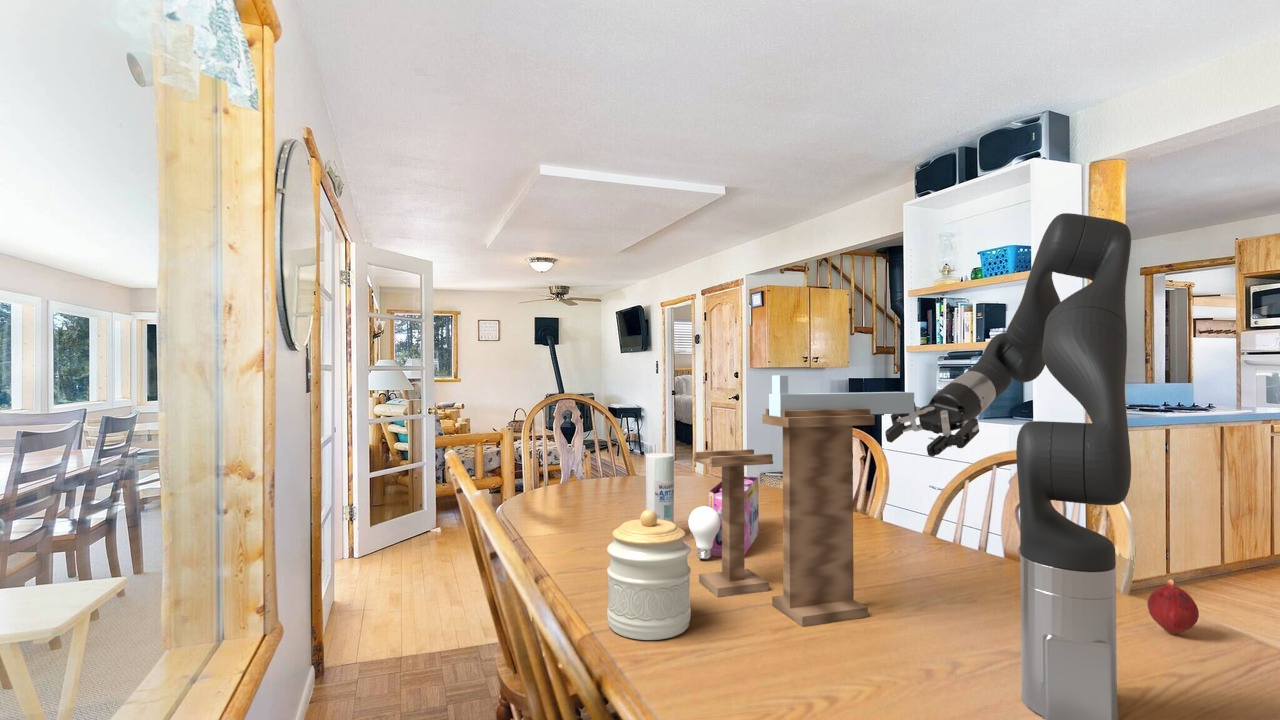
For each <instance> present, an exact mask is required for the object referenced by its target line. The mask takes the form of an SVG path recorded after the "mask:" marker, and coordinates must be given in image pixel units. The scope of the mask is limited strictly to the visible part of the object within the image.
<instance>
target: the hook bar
mask: <svg viewBox="0 0 1280 720" xmlns="http://www.w3.org/2000/svg"><path fill="white" fill-rule="evenodd" d="M914 402H915V392H909V391H908V392H907V391H906V392H905V391H879V392H878V391H876V392H875V391H873V392H872V391H871V392H869V391H867V392H865V391H864V392H813V393H811V392H810V393H809V392H808V393H805V392H804V393H789V375H784V374H783V375H778V374H777V375H771V393H769V394H768V409H769V415H770V416H777V417H782V411H792V410H832V409H870V415H892V414H902V413H914Z"/></svg>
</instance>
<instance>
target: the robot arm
mask: <svg viewBox="0 0 1280 720" xmlns="http://www.w3.org/2000/svg"><path fill="white" fill-rule="evenodd" d="M1131 246H1132V234H1131V230H1130V228H1129V226H1128V225H1127V224H1126V223H1124V222H1121V221H1118V220H1116V219H1111V218H1110V219H1109V218H1106V217H1105V218H1104V217H1098V216H1090V215H1086V214H1085V215H1084V214H1078V213H1068V212H1067V213H1064V212H1063V213H1059V214H1058V215H1056V216H1055V217H1054V218H1053V219H1052V220H1051V222H1050V223H1049V225H1048V226H1047V228H1046V230H1045V232H1044V234H1043V236H1042V238H1041V241H1040V243H1039V246H1038V249H1037V252H1036V254H1035V258H1034V260H1033V263H1032V267H1031V268H1030V272H1029V275H1028V278H1027V281H1026V284H1025V288H1024V292H1023V295H1022V299H1020V303H1019V305H1018V308H1017V309H1016V311H1015V313H1014V314H1013V317H1012V319H1011V321H1010V322H1009V324H1008V326H1007V329H1006V332H1000V333H997V334H996V335H995V336H993V337H992V338H991V340H989V343H987V345H986V347H985V349H984V351H983V353H982V354H981V357H980V358H979V360H978V361H977V362H975V364H974V365H972V366H971V367H970V368H969V369H967V370H966V371H965V372H963V373H962V374H960V375H959V376H957V377H955V378H954V379H952V380H951V381H950V382H949V383H948V384H947V385H945V386H944V387H942V388H941V389H940V390H939V391H937V392H936V393H935V394H934V395H933V396H932V398H931V400H930V401H929V403H928V404H926V405H925V406H922V407H920V406H917V405H916V402H915V401H914V413H902V414H890V420H891V424H892V425H891V426H890V427H888V429H886V430H885V438H886V442H888V443H891V444H892V443H893V442H895V441H896V440H897V439H899V437H901V436H902V435H903V434H904V433H905V432H910V431H913V432H919V431H923V430H924V431H928V432H931V433H933V434H936V435H938V436H937V437H936V438H934V439H933V440H932V441H931V442H930V443H929V444H927V445H926V452H927V456H929V457H932V458H933V457H935V456H937V455H940V454H941V453H942V452H944V450H946V449H947V448H952V447H953V446H954V447H956V448H958V449H963V448H964V447H966V446H967V445H968V444H969V443H970V442H971V441H972V440H973V439H974V438H975V437H976V436H977V435H978V434H979V433H980V426H979V421H978V418H977V417H978V416H979V415H980V414H982V412H984V411H985V410H986V409H988V407H989V406H990V405H991V404H992V402H994V401H995V399H996V398H999V396H1001V394H1003V393H1004V392H1006V390H1007V389H1008V388H1009V386H1010V385H1011V382H1012V380H1013V381H1016V382H1018V383H1029V382H1032V381H1034V380H1036V379H1037V378H1038V377H1039V376H1040V375H1041V374H1042V372H1043V370H1044V369H1045V366H1046V368H1047V369H1048V371H1049V373H1050V375H1052V376H1053V378H1055V380H1056V381H1057V382H1058V383H1059V385H1061V386H1062V387H1063V388H1064V389H1065V390H1066V391H1067V392H1068V393H1069V394H1070V395H1071V396H1072V397H1073V398H1075V400H1077V401H1078V403H1080V405H1081V407H1083V409H1084V411H1085V412H1086V414H1087V415H1088V418H1089V419H1090V421H1091V422H1087V423H1086V422H1070V421H1069V422H1067V421H1066V422H1064V421H1047V420H1043V421H1041V420H1035V421H1032V420H1031V421H1028V422H1025V423H1024V424H1023V425H1022V426H1021V427H1020V429H1019V431H1018V433H1017V439H1016V449H1015V450H1016V452H1015V453H1016V454H1015V455H1016V470H1017V471H1016V472H1017V473H1016V474H1017V484H1018V496H1019V497H1018V499H1019V531H1020V534H1019V535H1020V536H1019V537H1020V538H1019V539H1020V543H1019V545H1020V546H1019V548H1020V550H1019V551H1020V552H1019V553H1020V554H1019V556H1020V557H1019V558H1020V570H1019V571H1020V583H1019V584H1020V657H1021V658H1020V660H1021V661H1020V662H1021V663H1020V665H1021V699H1022V701H1023V703H1024V704H1025V705H1026V707H1027V708H1028V709H1030V710H1032V711H1033V712H1035V713H1037V714H1038V715H1039V716H1041V717H1042V718H1043V719H1044V720H1118V676H1117V675H1118V673H1117V672H1118V670H1117V669H1118V668H1117V667H1118V664H1117V663H1118V662H1117V661H1118V660H1117V659H1118V657H1117V581H1116V580H1117V577H1116V576H1117V574H1116V573H1117V572H1116V571H1117V570H1116V569H1117V567H1116V564H1117V563H1116V562H1117V561H1116V557H1117V553H1116V548H1115V544H1114V542H1112V541H1111V540H1110V539H1109V538H1108V537H1106V536H1104V535H1103V534H1101V533H1098V532H1096V531H1094V530H1092V529H1090V528H1087V527H1084V526H1082V525H1080V524H1077V523H1076V522H1074V521H1072V520H1070V519H1069V518H1067V517H1066V516H1064V515H1063V514H1062V513H1060V512H1059V511H1058V510H1057V509H1056V508H1055V507H1054V506H1053V504H1052V501H1057V502H1065V503H1074V504H1075V503H1076V504H1084V505H1086V504H1087V505H1096V506H1116V505H1118V504H1121V503H1122V502H1124V501H1125V499H1126V498H1127V496H1128V493H1129V491H1130V488H1131V480H1132V458H1131V445H1130V436H1129V427H1128V415H1127V406H1126V405H1127V404H1126V402H1127V401H1126V374H1127V373H1126V371H1127V357H1128V356H1127V354H1128V327H1127V325H1128V324H1127V312H1126V289H1127V280H1128V279H1127V277H1128V270H1129V263H1130V255H1131V249H1132V248H1131ZM1053 273H1056V274H1058V275H1065V276H1070V277H1075V278H1081V279H1085V280H1090V281H1091V282H1090V283H1089V284H1087V285H1086V286H1084V287H1082V288H1081V289H1079V290H1077V291H1075V292H1074V293H1072V294H1070V295H1069V296H1067V297H1065V298H1064V299H1063V300H1061V299H1060V296H1059V294H1058V292H1057V290H1056V287H1055V284H1054V280H1053ZM917 418H918V419H919V424H917V422H916V420H917ZM908 422H909V424H906V423H908ZM905 424H906V425H905ZM956 430H957V431H956ZM952 431H953V432H954V431H956V432H955V434H952ZM940 434H942V435H940Z"/></svg>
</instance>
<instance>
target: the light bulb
mask: <svg viewBox="0 0 1280 720" xmlns="http://www.w3.org/2000/svg"><path fill="white" fill-rule="evenodd" d="M687 524H688V527H689V530H690V532H691V534H692V536H693V537H694V540H695V545H696V548H697V552H696V553H697V555H696V556H697V557H698V558H700V559H701V560H703V561H705V560H709V559H710V558H711V557H712V554H711V553H712V552H711V551H712V550H711V548H712V546H713V540H714V538H715V536H716V534H717V533H718V531H719V529H720V518H719V515H718V513H717V512H716V511H715V510H714V509H712V508H710V507H708V505H707V506H706V505H702V506H698V507H696V508H695V509H693V510H692V511H691V513H690V515H689V517H688V522H687Z"/></svg>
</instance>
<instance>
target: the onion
mask: <svg viewBox="0 0 1280 720" xmlns="http://www.w3.org/2000/svg"><path fill="white" fill-rule="evenodd" d="M1147 608H1148V613H1149V615H1150V616H1151V618H1152V620H1153V621H1154V622H1156V624H1158V626H1160V627H1161V628H1163V630H1165V631H1166V632H1167V633H1169V634H1171V635H1178V634H1180V633H1184V632H1186V631H1188V630H1190V629H1192V628H1193V627H1194V626H1195V625H1196V624H1197V623H1198V621H1199V615H1200V614H1199V612H1200V611H1199V609H1198V605H1197V604H1196V602H1195V600H1194V599H1193V598H1192V596H1190V594H1189V593H1187V592H1186V591H1185V590H1184V589H1182V588H1181V587H1179V586H1178V585H1177V582H1176V581H1175V580H1174V579H1171V578H1170V579H1169V580H1167V583H1166V584H1165V585H1164V586H1161V587H1158V588H1157V589H1155V590H1153V591H1152V592H1151V594H1150V595H1149V597H1148V598H1147Z"/></svg>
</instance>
